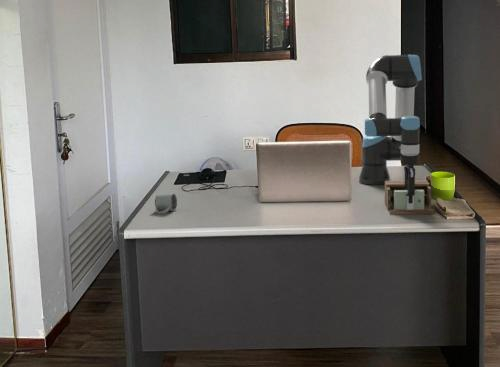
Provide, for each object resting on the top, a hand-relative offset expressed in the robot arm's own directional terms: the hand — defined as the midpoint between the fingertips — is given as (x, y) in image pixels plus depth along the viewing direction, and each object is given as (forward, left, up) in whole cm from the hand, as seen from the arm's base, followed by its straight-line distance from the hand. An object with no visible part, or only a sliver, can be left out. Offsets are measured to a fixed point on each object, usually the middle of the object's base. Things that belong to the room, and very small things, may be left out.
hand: (409, 208), depth 321 cm
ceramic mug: (-9, -104, -1) cm, 105 cm away
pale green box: (0, 0, -1) cm, 1 cm away
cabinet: (-6, +1, -1) cm, 6 cm away
